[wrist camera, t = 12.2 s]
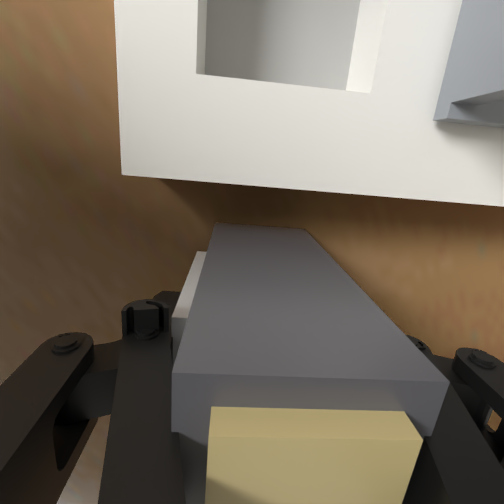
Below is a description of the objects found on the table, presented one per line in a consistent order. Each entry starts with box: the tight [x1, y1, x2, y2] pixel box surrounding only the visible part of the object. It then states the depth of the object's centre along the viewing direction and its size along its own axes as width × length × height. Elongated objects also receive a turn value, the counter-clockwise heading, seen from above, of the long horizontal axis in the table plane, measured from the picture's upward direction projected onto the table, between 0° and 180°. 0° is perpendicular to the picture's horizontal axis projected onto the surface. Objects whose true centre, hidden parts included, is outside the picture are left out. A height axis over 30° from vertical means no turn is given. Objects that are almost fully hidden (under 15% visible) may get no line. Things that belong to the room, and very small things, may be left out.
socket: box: [114, 0, 504, 207], centre depth 12 cm, size 20×14×4 cm
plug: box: [171, 223, 450, 504], centre depth 11 cm, size 5×5×13 cm
